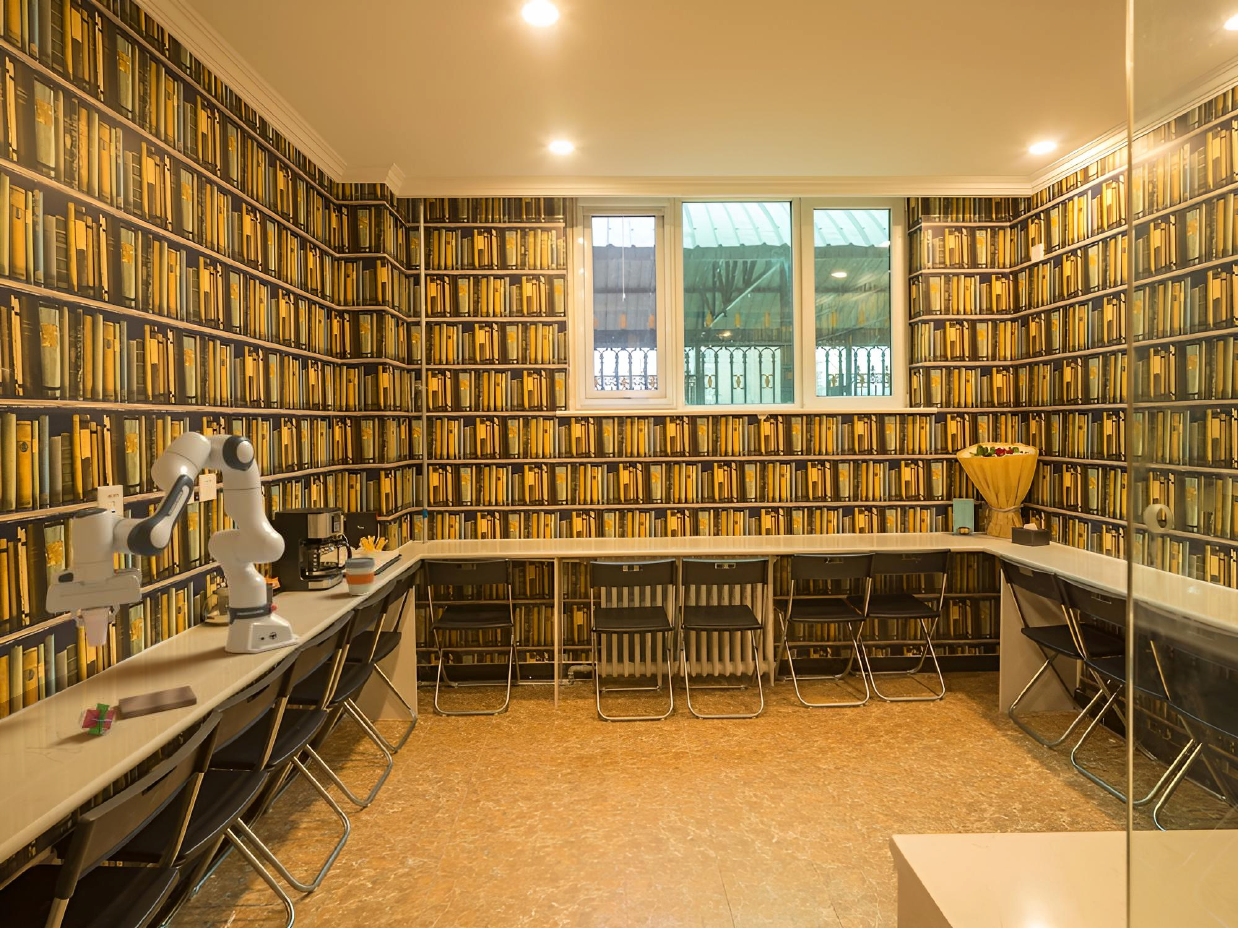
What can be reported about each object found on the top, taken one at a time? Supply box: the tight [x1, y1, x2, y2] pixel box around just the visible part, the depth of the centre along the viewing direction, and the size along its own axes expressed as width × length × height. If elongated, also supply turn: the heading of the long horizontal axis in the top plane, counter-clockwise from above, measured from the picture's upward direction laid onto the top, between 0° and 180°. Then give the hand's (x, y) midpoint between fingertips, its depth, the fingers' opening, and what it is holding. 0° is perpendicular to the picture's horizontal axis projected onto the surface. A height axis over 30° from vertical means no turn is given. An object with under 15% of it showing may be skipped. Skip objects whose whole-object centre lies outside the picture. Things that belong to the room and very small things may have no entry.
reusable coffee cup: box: [344, 556, 376, 596], centre depth 319 cm, size 13×12×15 cm
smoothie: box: [80, 605, 111, 648], centre depth 190 cm, size 6×6×14 cm
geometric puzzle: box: [77, 702, 118, 737], centre depth 172 cm, size 7×7×8 cm
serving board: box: [118, 685, 198, 720], centre depth 189 cm, size 16×12×2 cm
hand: (96, 623), depth 190 cm, fingers closed on smoothie, 5 cm apart
